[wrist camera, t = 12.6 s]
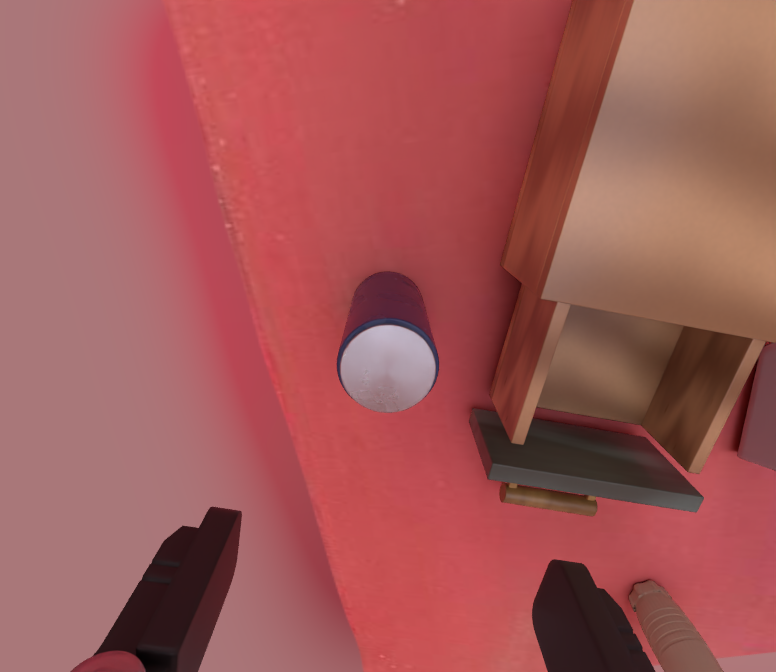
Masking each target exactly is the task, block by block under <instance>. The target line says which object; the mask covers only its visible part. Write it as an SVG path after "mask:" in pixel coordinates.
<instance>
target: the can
mask: <svg viewBox="0 0 776 672" xmlns="http://www.w3.org/2000/svg"><path fill="white" fill-rule="evenodd" d="M438 371H439V358H438V353H437V350H436V346H435V342H434V339H433V335H432V332H431V328H430V324H429V321H428V317H427V314H426V310H425V307H424V303H423V299H422V296H421V293H420V291H419V289H418V288H417V286H416V285H415V284H414V283H413V282H412V281H411V280H410V279H409V278H407V277H406V276H404V275H401V274H399V273H395V272H380V273H376V274H374V275H371V276H370V277H368V278H366V279H365V280H364V281H363V282H362V283H361V284H360V285H359V286H358V288H357V289H356V291H355V293H354V296H353V300H352V303H351V307H350V311H349V315H348V318H347V322H346V326H345V330H344V334H343V337H342V341H341V345H340V349H339V353H338V357H337V372H338V377H339V380H340V382H341V384H342V386H343V388H344V389H345V391H346V392H347V393H348V395H349V396H350V397H351V398H352V399H354V400H355V401H356V402H357V403H359V404H360V405H362V406H363V407H366V408H368V409H370V410H373V411H377V412H384V413H392V412H399V411H403V410H406V409H408V408H410V407H412V406H414V405H416V404H417V403H419V402H420V401H421V400H422V399H423V398H424V397H426V395H427V394H428V393H429V392H430V391H431V389H432V388H433V386H434V384H435V382H436V379H437V376H438Z"/></svg>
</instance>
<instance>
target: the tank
mask: <svg viewBox="0 0 776 672" xmlns="http://www.w3.org/2000/svg"><path fill="white" fill-rule="evenodd" d="M737 456H738V457H739V458H741V459H744V460H746V461H749V462H752V463H755V464H758V465H761V466H763V467H766V468H769V469H772V470H775V471H776V343H771V344H769V345H766V346H764V347H763V349H762V351H761V353H760V355H759V359H758V363H757V368H756V373H755V377H754V382H753V386H752V391H751V395H750V400H749V404H748V409H747V413H746V418H745V422H744V427H743V432H742V436H741V441H740V445H739V450H738V454H737Z"/></svg>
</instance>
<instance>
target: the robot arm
mask: <svg viewBox="0 0 776 672" xmlns="http://www.w3.org/2000/svg"><path fill="white" fill-rule="evenodd" d="M241 517H242V513H241V511H237V510H231V509H224V508H218V507H210V509H209V510H208V512H207V514H206V515H205V518H204V519H203V521H202V523H201V525H200V527H199V528H195V527H188V526H182V527H181V528H179V529H178V530H177V531H176V532H174V533H173V534H172V535H171V536H170V537H168V538H167V539H166V540H165V541H164V542H163V543H162V545H161V547H160V549H159V550H158V552H157V554H156V555H155V557H154V558H153V560H152V563H151V564H150V565H149V567H148V568H147V570H146V572H145V573H144V575H143V578H142V580H141V581H140V582H139V583H138V585H137V587H136V589H135V590H134V592H133V593H132V595H131V597H130V598H129V600H128V602H127V603H126V605H125V607H124V608H123V610H122V612H121V613H120V615H119V617H118V619H117V620H116V622H115V623H114V625H113V627H112V628H111V630H110V632H109V633H108V635H107V637H106V639H105V640H104V642H103V643H102V645H101V646H100V648H99V649H98V650H97V652H96V653H95V654H94V655H93V656H92V657H91V658H89V659H87V660H85V661H83V662H82V663H80V664H79V665H78V666H76V667H75V668H74V669H73V670H72V671H71V672H198V670H199V667H200V665H201V662H202V659H203V657H204V654H205V651H206V649H207V646H208V643H209V641H210V638H211V636H212V633H213V630H214V628H215V625H216V622H217V619H218V617H219V614H220V612H221V609H222V606H223V604H224V601H225V598H226V595H227V593H228V590H229V588H230V585H231V582H232V579H233V575H234V571H235V567H236V562H237V555H238V546H239V537H240V527H241ZM532 619H533V626H534V630H535V633H536V637H537V640H538V643H539V646H540V649H541V652H542V655H543V658H544V661H545V664H546V667H547V671H548V672H655V670H654V668H653V666H652V664H651V662H650V660H649V659H648V657H647V655H646V653H645V652H643V650H642V648H643V647H642V646H641V644H640V642H639V640H638V638H637V636H636V634H633V629H632V627H631V625H630V623H629V621H628V620H627V618H626V616H625V614H624V612H623V610H622V608H621V607H620V606H619V605H618V604H617V603H616V602H615V601H614V600H613V598H612V597H611V596H610V595H609V594H608V593H607V592H606V591H605V590H604V589H601V588H597V587H596V585H595V583H594V581H593V579H592V577H591V575H590V573H589V571H588V569H587V568H586V566H585V565H584V564H582V563H575V562H569V561H562V560H555V559H554V560H552V561H551V562H550V563H549V565H548V568H547V570H546V572H545V575H544V577H543V580H542V582H541V585H540V587H539V590H538V592H537V595H536V597H535V600H534V603H533V609H532Z"/></svg>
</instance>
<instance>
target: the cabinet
mask: <svg viewBox="0 0 776 672" xmlns="http://www.w3.org/2000/svg"><path fill="white" fill-rule="evenodd" d="M500 265H501V266H502V267H503V268H504V269H505V270H506V271H508V272H509V273H510V274H511V275H512V276H514V277H515V278H516V279H517V280H518V281H520V282H521V283H522V284H523V285H524V286H526V287H527V288H528V289H529V290H530V291H532V292H533V293H534V294H535V295H537V296H538V297H539V298H540V299H544V300H549V301H554V302H560V303H565V304H570V305H576V306H581V307H586V308H591V309H597V310H602V311H607V312H613V313H618V314H623V315H629V316H634V317H639V318H645V319H650V320H655V321H661V322H666V323H671V324H677V325H682V326H687V327H693V328H698V329H703V330H709V331H714V332H719V333H725V334H730V335H735V336H741V337H746V338H751V339H757V340H762V341H767V342H773V343H776V0H573V1H572V5H571V8H570V12H569V16H568V19H567V23H566V27H565V30H564V34H563V38H562V41H561V45H560V48H559V52H558V56H557V59H556V63H555V67H554V70H553V74H552V78H551V81H550V85H549V88H548V92H547V96H546V99H545V103H544V107H543V110H542V114H541V118H540V121H539V125H538V128H537V132H536V136H535V139H534V143H533V147H532V150H531V154H530V158H529V161H528V165H527V168H526V172H525V176H524V179H523V183H522V187H521V190H520V194H519V197H518V201H517V205H516V208H515V212H514V216H513V219H512V223H511V227H510V230H509V234H508V237H507V241H506V245H505V248H504V252H503V256H502V259H501V263H500Z"/></svg>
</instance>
